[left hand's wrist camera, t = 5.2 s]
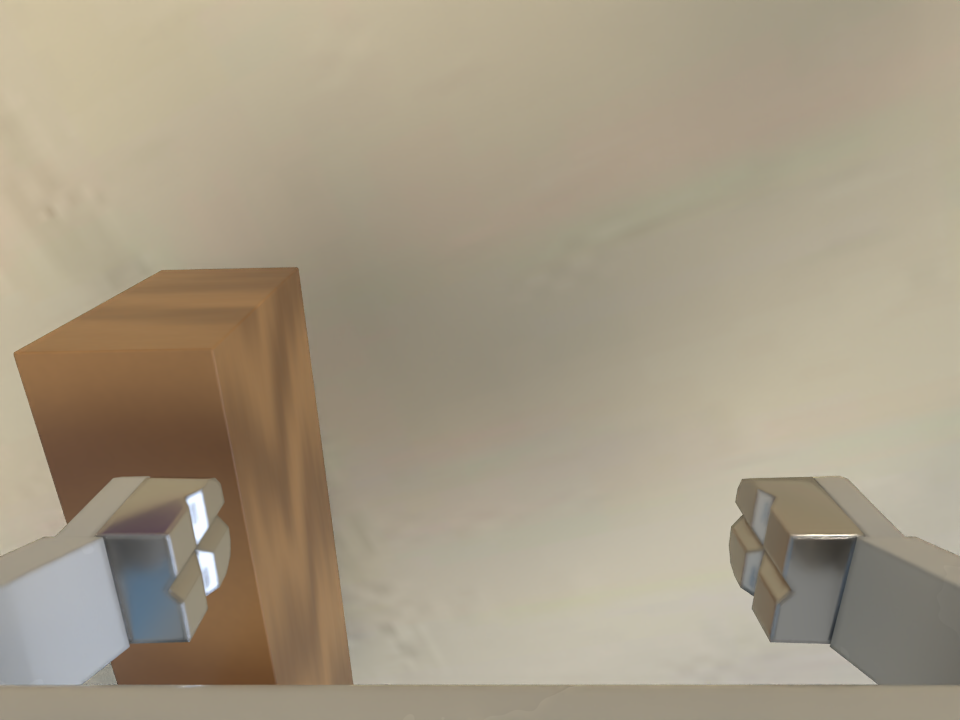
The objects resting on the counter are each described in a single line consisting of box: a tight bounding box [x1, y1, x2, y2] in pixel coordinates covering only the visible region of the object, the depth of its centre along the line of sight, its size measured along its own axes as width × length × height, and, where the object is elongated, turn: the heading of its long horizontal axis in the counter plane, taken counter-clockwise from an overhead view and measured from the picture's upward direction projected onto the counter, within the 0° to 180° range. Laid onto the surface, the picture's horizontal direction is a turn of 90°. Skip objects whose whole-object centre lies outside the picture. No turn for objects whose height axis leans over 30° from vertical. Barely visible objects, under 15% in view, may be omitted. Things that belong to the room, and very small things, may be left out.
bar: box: [14, 267, 353, 685], centre depth 26 cm, size 24×5×9 cm, turn 1°
